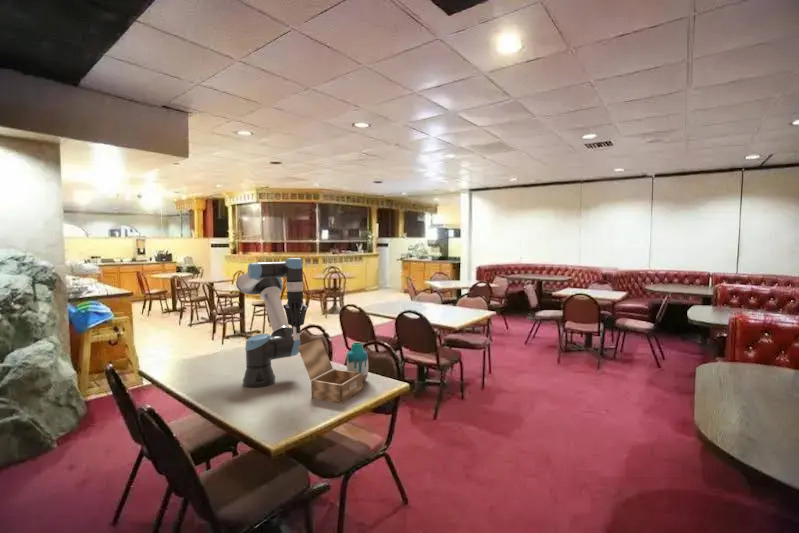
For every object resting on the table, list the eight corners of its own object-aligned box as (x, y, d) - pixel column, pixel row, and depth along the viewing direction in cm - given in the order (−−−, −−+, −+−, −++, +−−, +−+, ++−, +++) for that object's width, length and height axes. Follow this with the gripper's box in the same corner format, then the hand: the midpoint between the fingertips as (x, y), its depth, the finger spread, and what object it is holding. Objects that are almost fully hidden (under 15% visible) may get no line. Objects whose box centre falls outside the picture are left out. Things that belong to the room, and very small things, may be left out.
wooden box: (311, 398, 180) (311, 380, 179) (334, 385, 196) (333, 368, 195) (342, 403, 173) (342, 385, 172) (363, 389, 189) (363, 373, 189)
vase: (365, 385, 195) (364, 346, 193) (344, 384, 197) (343, 345, 196) (371, 378, 205) (370, 341, 204) (351, 377, 207) (350, 340, 206)
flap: (311, 379, 180) (310, 380, 180) (332, 368, 195) (331, 369, 195) (298, 346, 182) (297, 346, 182) (320, 338, 197) (319, 338, 197)
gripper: (278, 291, 190) (280, 340, 192) (301, 292, 185) (302, 342, 186) (289, 289, 197) (290, 337, 198) (311, 290, 192) (312, 339, 193)
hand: (296, 339), depth 192 cm, fingers closed
